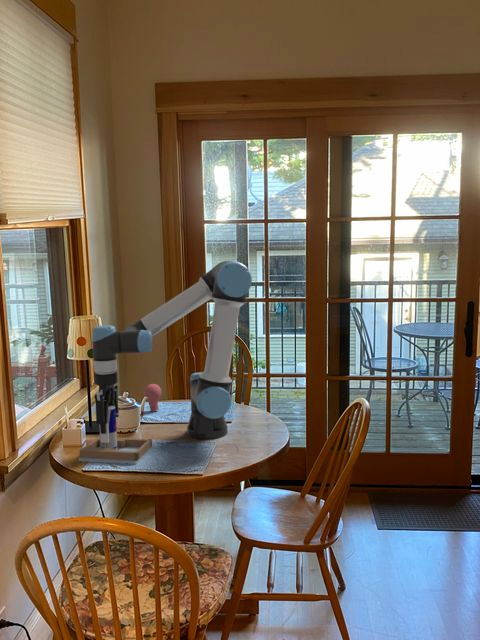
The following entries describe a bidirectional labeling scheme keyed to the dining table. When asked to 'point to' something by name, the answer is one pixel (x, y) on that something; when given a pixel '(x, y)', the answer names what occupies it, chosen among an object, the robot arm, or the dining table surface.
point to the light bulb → (153, 396)
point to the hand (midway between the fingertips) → (108, 439)
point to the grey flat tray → (117, 451)
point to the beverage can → (111, 429)
